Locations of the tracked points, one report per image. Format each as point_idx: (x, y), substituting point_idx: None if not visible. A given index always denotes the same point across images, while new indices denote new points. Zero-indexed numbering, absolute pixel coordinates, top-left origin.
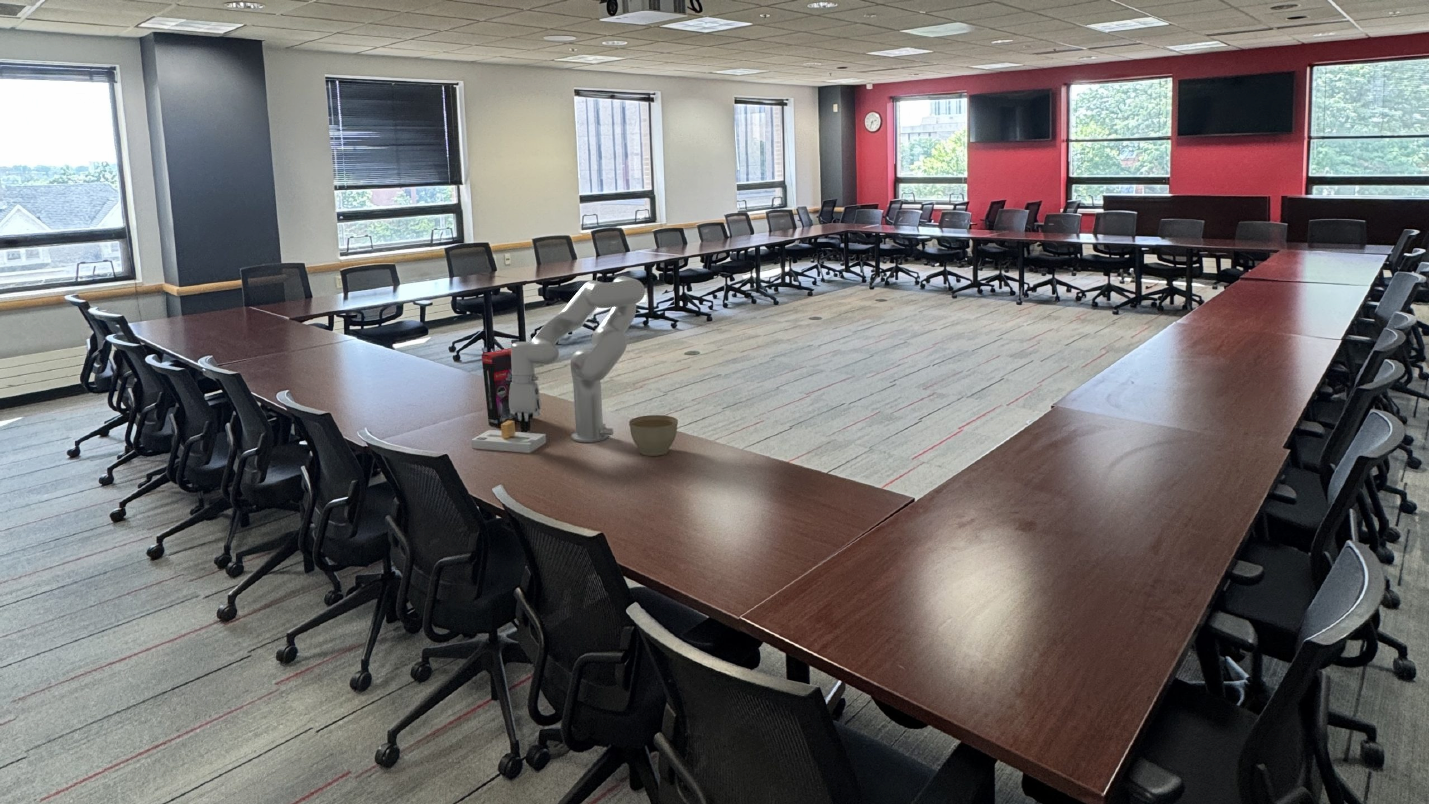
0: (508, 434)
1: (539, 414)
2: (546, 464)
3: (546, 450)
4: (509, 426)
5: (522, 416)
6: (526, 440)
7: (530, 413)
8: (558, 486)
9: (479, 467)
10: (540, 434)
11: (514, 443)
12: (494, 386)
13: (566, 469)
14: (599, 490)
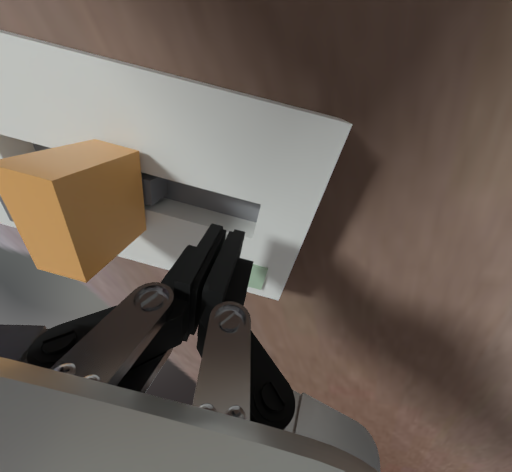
0: (133, 235)
1: (369, 444)
2: (353, 360)
3: (349, 251)
4: (95, 245)
5: (151, 343)
6: (249, 251)
7: (231, 394)
8: (381, 438)
9: (181, 348)
10: (310, 134)
11: None
12: None
13: (412, 392)
14: (466, 462)
